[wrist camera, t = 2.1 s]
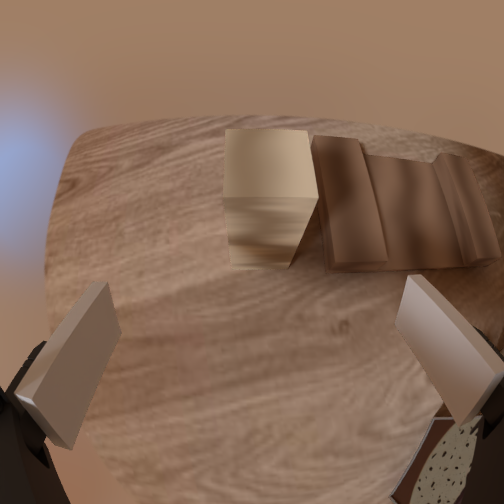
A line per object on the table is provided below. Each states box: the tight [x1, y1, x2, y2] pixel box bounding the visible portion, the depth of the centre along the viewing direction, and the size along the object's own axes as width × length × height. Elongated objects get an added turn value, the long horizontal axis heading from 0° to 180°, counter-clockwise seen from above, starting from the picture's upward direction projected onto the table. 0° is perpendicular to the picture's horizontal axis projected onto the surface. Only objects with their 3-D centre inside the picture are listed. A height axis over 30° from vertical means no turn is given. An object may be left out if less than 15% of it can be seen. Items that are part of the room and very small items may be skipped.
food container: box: [389, 415, 483, 504], centre depth 14 cm, size 12×6×10 cm, turn 150°
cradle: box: [310, 135, 502, 273], centre depth 28 cm, size 22×14×3 cm, turn 91°
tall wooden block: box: [223, 129, 319, 270], centre depth 21 cm, size 5×5×12 cm
